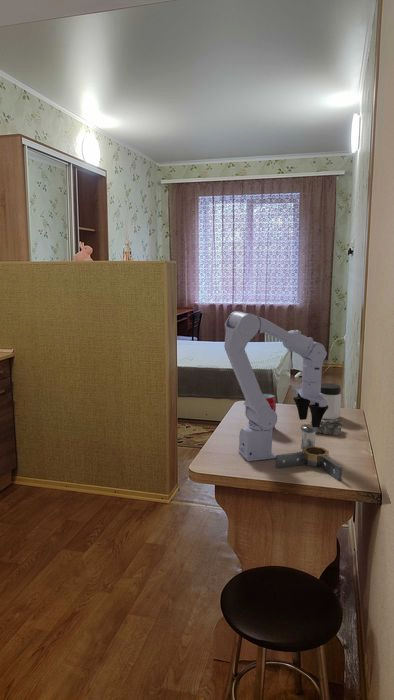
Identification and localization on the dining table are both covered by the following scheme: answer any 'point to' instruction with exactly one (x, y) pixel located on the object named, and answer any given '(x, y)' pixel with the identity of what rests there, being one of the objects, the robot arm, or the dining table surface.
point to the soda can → (271, 401)
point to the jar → (331, 400)
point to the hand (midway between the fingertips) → (309, 423)
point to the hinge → (310, 460)
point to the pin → (308, 436)
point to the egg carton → (330, 427)
